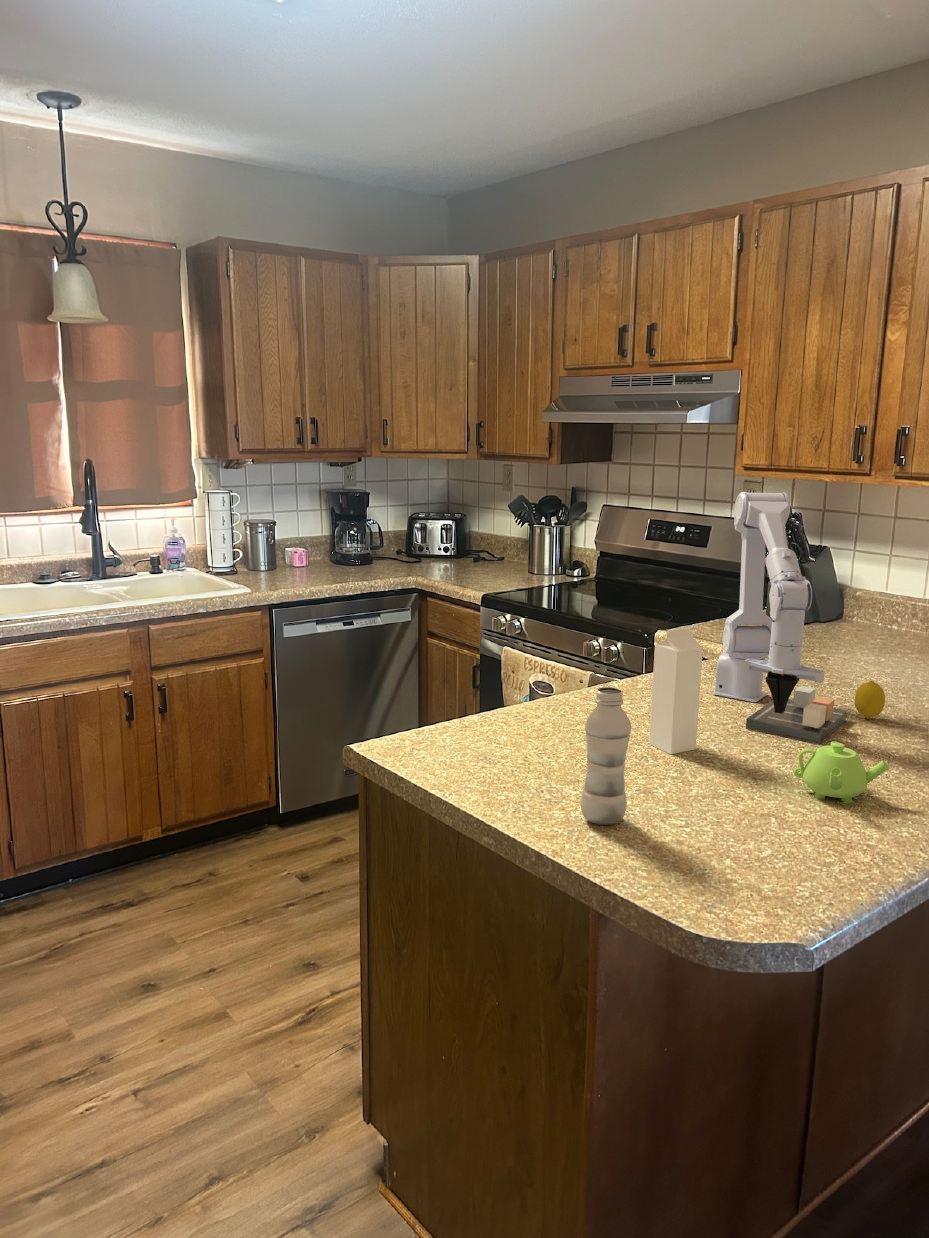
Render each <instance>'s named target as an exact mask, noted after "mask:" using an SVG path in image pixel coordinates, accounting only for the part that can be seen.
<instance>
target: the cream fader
mask: <svg viewBox="0 0 929 1238" xmlns="http://www.w3.org/2000/svg"><path fill="white" fill-rule="evenodd" d="M825 715H826V706H822V705H817V704H812V703H810V704H808V705H807V706H806V707H805V708H804V711H803V721H802V725H804V726H809V727H814V728H820V727H821V726H822V725H823V724H824V723H825Z"/></svg>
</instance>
